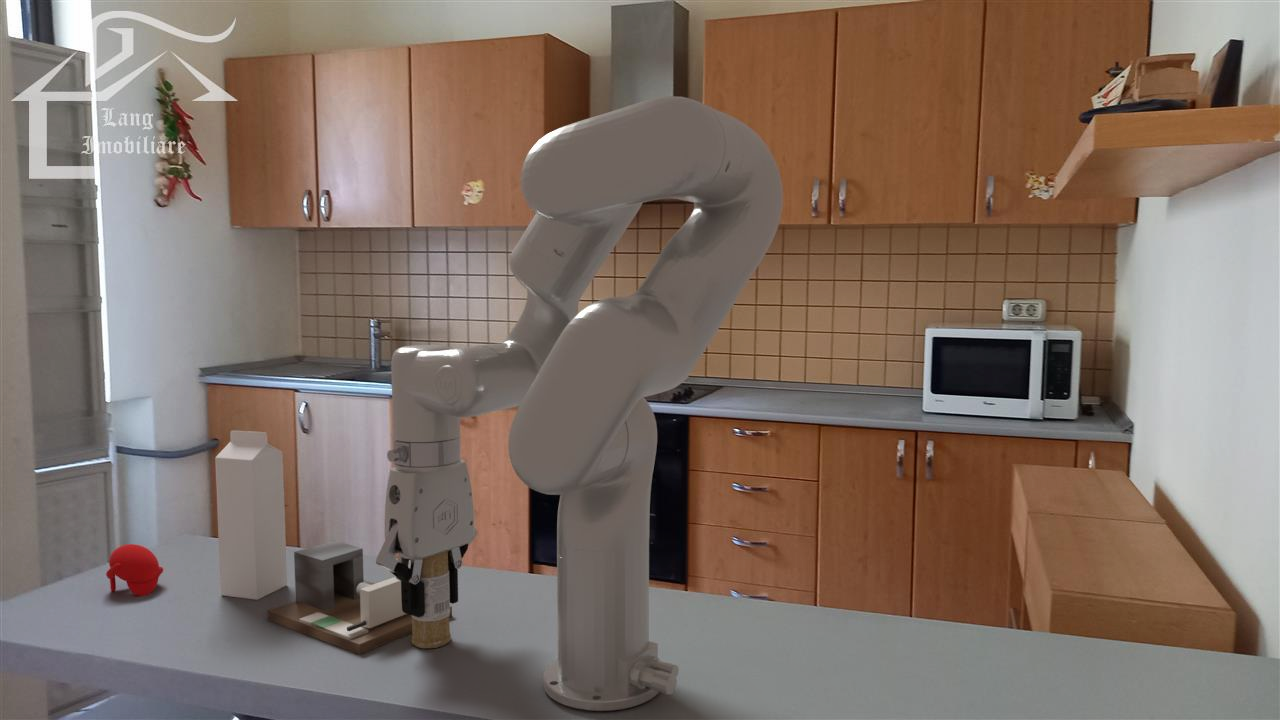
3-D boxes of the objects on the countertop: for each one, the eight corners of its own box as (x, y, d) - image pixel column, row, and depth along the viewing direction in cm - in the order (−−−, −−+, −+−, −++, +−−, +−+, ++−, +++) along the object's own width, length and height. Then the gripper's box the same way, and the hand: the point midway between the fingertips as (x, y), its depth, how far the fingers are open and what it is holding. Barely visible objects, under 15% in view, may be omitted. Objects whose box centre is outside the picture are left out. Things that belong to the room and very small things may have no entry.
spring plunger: (422, 607, 108) (421, 573, 108) (352, 635, 100) (351, 597, 99) (387, 596, 112) (386, 563, 112) (317, 622, 103) (316, 586, 103)
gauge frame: (452, 615, 110) (450, 557, 109) (359, 654, 98) (357, 589, 97) (360, 587, 120) (359, 533, 119) (267, 619, 108) (265, 560, 108)
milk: (252, 581, 122) (246, 426, 121) (288, 585, 121) (283, 428, 119) (219, 596, 117) (213, 433, 115) (257, 600, 115) (251, 435, 113)
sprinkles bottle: (440, 631, 105) (437, 522, 104) (458, 643, 101) (455, 530, 100) (404, 641, 102) (401, 528, 101) (421, 653, 98) (418, 537, 97)
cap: (91, 566, 119) (98, 553, 115) (134, 542, 123) (142, 528, 119) (126, 613, 119) (133, 601, 115) (167, 587, 123) (176, 575, 119)
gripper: (389, 469, 91) (393, 639, 92) (502, 445, 104) (504, 593, 106) (344, 461, 95) (349, 623, 97) (458, 438, 109) (461, 581, 110)
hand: (430, 605), depth 101 cm, fingers closed on sprinkles bottle, 4 cm apart
